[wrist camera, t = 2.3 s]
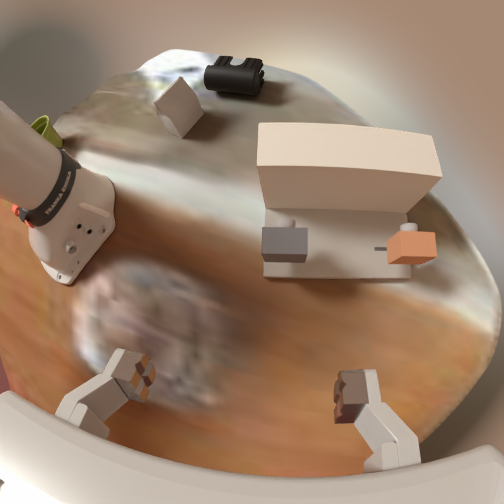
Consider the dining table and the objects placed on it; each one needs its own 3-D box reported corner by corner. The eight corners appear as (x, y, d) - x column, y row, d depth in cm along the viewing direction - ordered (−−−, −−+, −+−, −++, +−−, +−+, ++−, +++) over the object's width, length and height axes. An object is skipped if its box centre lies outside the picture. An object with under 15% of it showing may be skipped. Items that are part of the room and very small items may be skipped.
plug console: (408, 278, 38) (455, 260, 25) (264, 277, 41) (252, 257, 27) (398, 182, 42) (431, 135, 28) (267, 177, 44) (258, 123, 31)
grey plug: (304, 263, 35) (307, 254, 30) (264, 262, 36) (261, 253, 31) (305, 228, 36) (307, 214, 31) (266, 227, 37) (262, 214, 32)
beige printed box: (203, 113, 49) (189, 78, 40) (182, 139, 48) (162, 105, 39) (189, 108, 50) (173, 74, 40) (168, 133, 49) (147, 100, 40)
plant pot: (54, 132, 56) (35, 116, 47) (74, 133, 54) (54, 114, 46) (37, 163, 54) (16, 148, 46) (56, 166, 52) (33, 150, 44)
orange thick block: (420, 264, 33) (437, 256, 28) (387, 264, 34) (401, 256, 29) (417, 232, 34) (433, 220, 29) (385, 230, 35) (398, 218, 30)
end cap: (208, 98, 50) (200, 75, 44) (222, 75, 51) (215, 53, 45) (256, 104, 48) (251, 79, 42) (267, 81, 50) (264, 57, 43)
